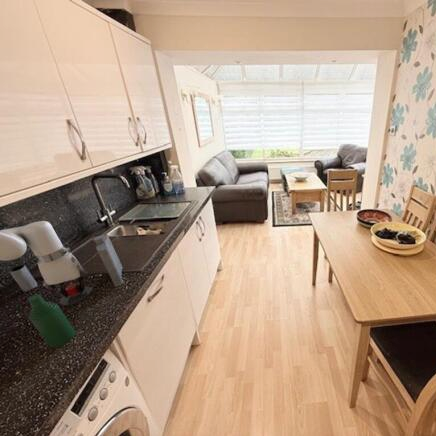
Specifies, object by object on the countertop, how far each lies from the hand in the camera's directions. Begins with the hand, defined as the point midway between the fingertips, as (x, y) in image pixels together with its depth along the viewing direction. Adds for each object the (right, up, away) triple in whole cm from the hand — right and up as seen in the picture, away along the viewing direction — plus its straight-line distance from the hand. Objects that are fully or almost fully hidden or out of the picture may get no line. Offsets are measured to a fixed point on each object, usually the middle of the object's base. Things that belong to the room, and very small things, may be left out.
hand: (75, 292), depth 93 cm
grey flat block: (+9, +4, +11) cm, 14 cm away
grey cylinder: (-25, 0, +7) cm, 26 cm away
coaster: (0, -1, +1) cm, 2 cm away
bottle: (+12, -9, -17) cm, 23 cm away
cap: (0, 0, 0) cm, 0 cm away
